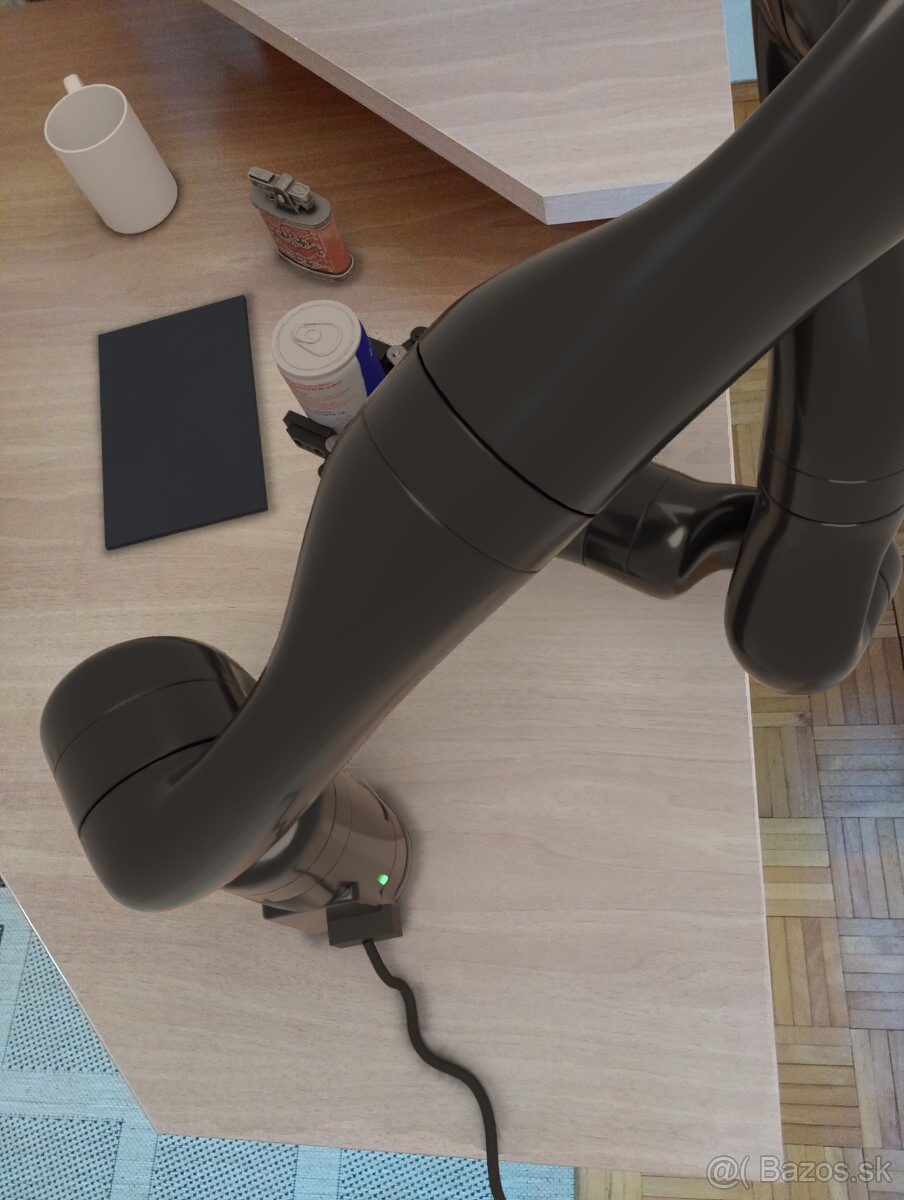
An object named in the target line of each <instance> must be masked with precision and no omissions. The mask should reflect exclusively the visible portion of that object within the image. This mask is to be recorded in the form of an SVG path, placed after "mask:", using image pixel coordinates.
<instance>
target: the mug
mask: <svg viewBox="0 0 904 1200" xmlns="http://www.w3.org/2000/svg"><path fill="white" fill-rule="evenodd" d="M63 85H64V88H65V90H66V92H67V95H65V96H63V97H62V98H61V99H60V100H59V101H58V102H57V103H56V104H55V105H54V106H53V108H52V109H51V110H50V112H48V115H47V117H46V119H45V121H44V128H43V133H44V138H45V141H46V142H47V143H48V145H49V146H50V147H51V149H52V151H53V152H54V153H55V155H56V156H57V158H58V159H59V161H60V162H61V163H62V165H63V166H64V167H65V170H67V172H68V174H69V175H70V176H71V178H72V179H73V180H74V182H75V183H76V184H77V186H78V188H79V189H80V190H81V192H82V193H83V194H84V196H85V197H86V198H87V200H88V201H89V203H90V204H91V205H92V207H93V208H94V210H95V211H96V212H97V214H98V215H99V217H100V218H101V220H102V221H103V223H104V224H105V225H106V226H107V227H108V228H109V229H111V230H112V231H114V232H116V233H119V234H123V235H133V234H134V235H136V234H141V233H144V232H146V231H149V230H151V229H153V228H155V227H156V226H158V225H160V224H161V223H162V222H163V221H164V220H165V219H166V218H167V217H168V216H169V215H170V213H171V212H172V210H173V209H174V208H175V205H176V202H177V201H178V200H177V199H178V191H179V190H178V185H177V181H176V180H175V178H174V176H173V174H172V173H171V171H170V170H169V168H168V166H167V164H166V162H165V161H164V159H163V158H162V156H161V155H160V153H159V151H158V150H157V147H156V146H155V144H154V143H153V141H152V139H151V138H150V136H149V134H148V133H147V130H146V129H145V127H144V125H143V124H142V122H141V121H140V119H139V117H138V116H137V114H136V113H135V111H134V109H133V107H132V106H131V104H130V102H129V101H128V99H127V97H126V96H125V94H124V93H123V91H122V90H120V89H119V88H117V87H115V86H113V85H109V84H106V83H94V84H90V85H89V84H88V85H85V83H84V82H83V81H82V78H80V76H79V75H78V74H76V73H71V74H70V75H68V76H66V77H64V79H63Z"/></svg>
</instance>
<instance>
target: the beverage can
mask: <svg viewBox="0 0 904 1200" xmlns="http://www.w3.org/2000/svg"><path fill="white" fill-rule="evenodd" d="M368 337H369V335H368V333H367V330H366V329H365V327H364V325H363V324H362V322H361V321H360V319H359V318H358V317H357V314H356V313H355V312H354V311H353V310H352V309H351V308H350V307H349V306H347V305H346V304H344V303H342V302H339V301H337V300H333V299H314V300H310V301H306V302H304V303H301V304H298V305H297V306H295V307H293V308H291V309H290V310H288V311H287V313H285V314H284V315H283V316H282V317H281V318H280V319H279V320H278V322H277V323H276V324H275V326H274V329H273V331H272V333H271V337H270V342H269V345H270V346H269V347H270V352H271V356H272V358H273V360H274V362H275V364H276V367H277V369H278V371H279V373H280V374H281V376H282V378H283V379H284V381H285V383H286V384H287V386H288V388H289V389H290V391H291V393H293V396H294V398H295V399H296V400H297V402H298V404H299V405H300V407H301V408H302V410H303V413H304V414H305V415H306V417H307V418H309V419H312V420H313V421H315V422H317V423H319V424H322V425H325V426H327V427H330V428H332V429H334V431H335V433H336V435H340V434H341V432H342V431H343V429H344V427H345V426H346V425H347V423H348V422H349V421H350V419H351V418H352V417H353V415H354V414H355V413H356V412H357V411H358V409H359V408H360V407H361V405H362V404H363V403H364V401H365V400H366V399H367V398H368V397H369V396H370V395H371V393H372V392H373V391H374V390H375V389H376V388H377V386H378V385H379V384H380V383H381V382H382V381H383V379H384V378H385V377H386V374H385V372H384V370H383V368H382V366H381V363H380V361H379V359H378V357H377V355H376V353H375V351H374V348H373V346H372V344H371V342H370V340H369V338H368Z"/></svg>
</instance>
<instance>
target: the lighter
mask: <svg viewBox="0 0 904 1200" xmlns="http://www.w3.org/2000/svg"><path fill="white" fill-rule="evenodd" d="M247 177H248V179H249V182H250V184H251V185H252V188H251V189H250V192H249V199H250V201H251V203H252V205H253V206H254V207H255V209H257V210H258V212H259V214H260V216H261V218H262V219H263V221H264V223H265V225H266V228H267V229H268V231H269V233H270V235H271V237H272V239H273V241H274V242H275V244H276V251H277V253H278V255H279V257H280V260H282V261H283V262H284V263H286V264H287V265H289V266H290V267H292V268H293V269H295V270H297V271H299V272H300V273H303V274H304V275H307V276H310V277H312V278H316V279H319V280H322V281H326V282H331V283H337V284H338V283H339V284H340V283H345V282H347V281H349V280H351V278H352V277H353V276H354V275H355V273H356V270H357V264H356V262H355V259H354V257H353V255H352V254H350V253H349V251H348V249H347V246H346V244H345V242H344V239H343V237H342V235H341V232H340V230H339V228H338V225H337V223H336V221H335V218H334V210H333V208H332V205H331V203H330V202H329V201H328V200H327V199H325V198H324V197H322V196H321V195H319V194H318V193H316V192H314V191H312V190H311V189H310V187H309V186H308V185H306V184H303V183H301V182H299V181H298V180H297V179H296V178H295V177H294V176H293V175H291V174H290V173H287V172H283V173H282V175H279V174H277V173H274V172H272V171H268V170H266V169H263V168H260V167H258V166H252V167H251V168H250V170H248V173H247Z"/></svg>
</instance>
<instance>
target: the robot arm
mask: <svg viewBox="0 0 904 1200" xmlns="http://www.w3.org/2000/svg"><path fill="white" fill-rule="evenodd" d="M749 4H750V16H751V28H752V29H751V30H752V42H753V53H754V62H755V63H754V64H755V71H756V81H757V82H756V83H757V90H758V91H757V92H758V93H757V94H758V102H759V105H758V106H757V107H756V108H755V109H754V110H753V111H752V113H750V115H748V117H747V118H746V119H745V120H744V121H743V122H742V123H741V124H740V125H739V126H738V127H737V128H736V129H735V131H733V132H732V134H731V135H730V136H729V137H727V138H726V139H725V140H724V141H723V142H722V143H721V144H720V145H719V146H718V147H717V148H715V150H713V151H712V152H711V153H710V154H709V155H707V157H706V158H705V159H704V160H702V161H701V162H700V163H699V164H698V165H696V166H695V167H693V168H692V169H691V170H690V171H689V172H687V173H686V174H685V175H683V176H682V177H681V178H679V179H678V180H677V181H676V182H674V183H673V184H672V185H670V186H668V187H667V188H665V189H664V190H662V191H661V192H659V193H658V194H656V195H654V196H653V197H651V198H649V199H648V200H646V201H645V202H643V203H641V204H640V205H638V206H637V207H636V206H635V207H634V208H632V209H630V210H628V211H626V212H624V213H622V214H621V215H618V216H616V217H615V218H613V219H611V220H608V221H607V222H605V223H602V224H600V225H598V226H596V227H594V228H592V229H589V230H586V231H585V232H582V233H580V234H578V235H575V236H573V237H570V238H568V239H566V240H564V241H562V242H559V243H557V244H554V245H553V246H550V247H549V248H546V249H544V250H542V251H539V252H537V253H535V254H533V255H531V256H528V257H526V258H525V259H523V260H520V261H519V262H517V263H514V264H512V265H510V266H508V267H507V268H505V269H503V270H501V271H499V272H498V273H496V274H494V275H493V276H491V277H489V278H487V279H486V280H484V281H483V282H481V283H480V284H478V285H476V286H475V287H473V288H471V289H470V290H468V291H467V292H466V293H464V294H463V295H461V296H460V297H459V298H457V299H456V300H455V301H454V302H453V303H451V305H449V306H448V307H447V308H446V309H445V310H444V311H443V312H442V313H440V315H439V316H438V317H437V318H436V319H435V320H433V322H431V324H430V325H429V326H423V325H419V326H416V327H414V328H412V329H411V331H410V333H409V338H408V339H407V340H406V341H404V342H403V343H401V344H393V345H392V344H389V343H387V342H384V341H381V340H379V339H376V338H373V337H371V336H368V338H369V340H370V342H371V344H372V346H373V348H374V351H375V353H376V355H377V357H378V359H379V361H380V363H381V366H382V368H383V370H384V372H385V374H386V377H385V378H384V379H383V381H382V382H381V383H380V384H379V385H378V386H377V388H376V389H375V390H374V391H373V392H372V393H371V395H370V396H369V397H368V398H367V399H366V400H365V401H364V403H363V404H362V405H361V407H360V408H359V409H358V411H357V412H356V413H355V414H354V415H353V417H352V418H351V419H350V421H349V422H348V423H347V425H346V426H345V427H344V429H343V431H342V432H341V434H340V435H336V433H335V431H334V429H332V428H330V427H327V426H325V425H322V424H319V423H317V422H315V421H313V420H312V419H309V418H308V417H307V416H305V415H302V414H300V413H298V412H296V411H294V410H291V409H289V410H287V412H286V414H285V415H284V417H283V418H282V421H283V423H284V425H285V426H286V429H285V431H286V432H287V434H288V436H289V437H290V439H291V440H292V442H293V443H294V444H295V445H296V447H298V448H299V449H302V450H304V451H306V452H309V453H311V454H313V455H315V456H316V457H317V456H318V457H319V458H321V459H323V460H324V461H323V462H322V463H321V464H320V465H319V467H318V469H317V476H318V477H319V478H320V479H319V482H318V485H317V488H316V491H315V494H314V498H313V502H312V505H311V508H310V512H309V514H308V515H309V516H308V519H307V522H306V525H305V529H304V533H303V537H302V541H301V545H300V549H299V553H298V557H297V562H296V565H295V570H294V574H293V578H292V583H291V587H290V592H289V596H288V600H287V604H286V607H285V611H284V615H283V617H282V618H283V619H282V622H281V625H280V628H279V632H278V634H277V638H276V641H275V643H274V646H273V648H272V650H271V652H270V655H269V657H268V660H267V661H266V664H265V665H264V667H263V670H262V671H261V674H260V675H259V677H258V678H257V680H256V679H255V678H254V677H253V676H252V675H251V674H250V673H249V672H248V671H247V670H246V669H245V668H244V667H242V666H241V665H240V664H239V663H238V662H237V661H236V660H235V659H233V658H232V657H231V656H229V654H227V653H226V652H225V651H223V650H221V649H219V648H217V647H215V646H214V645H211V644H209V643H207V642H204V641H202V640H198V639H194V638H191V637H184V636H178V635H177V636H175V635H153V636H143V637H138V638H133V639H129V640H125V641H121V642H118V643H115V644H112V645H110V646H107V647H105V648H103V649H101V650H99V651H97V652H95V653H94V654H92V655H90V656H88V657H86V658H85V659H84V660H82V661H81V662H80V663H78V664H77V665H75V666H74V667H73V668H72V669H71V670H70V671H69V672H67V673H66V674H65V675H64V676H63V677H62V678H61V679H60V680H59V681H58V683H57V684H56V685H55V687H54V688H53V690H52V691H51V692H50V694H49V696H48V697H47V700H46V702H45V704H44V707H43V709H42V713H41V716H40V722H39V739H40V740H39V741H40V745H41V749H42V750H43V755H44V757H45V760H46V762H47V765H48V767H49V769H50V772H51V775H52V777H53V779H54V781H55V784H56V787H57V789H58V792H59V795H60V796H61V799H62V802H63V804H64V807H65V808H66V811H67V814H68V816H69V818H70V821H71V824H72V826H73V828H74V830H75V834H76V836H77V839H78V840H79V843H80V845H81V847H82V849H83V851H84V854H85V857H86V859H87V861H88V863H89V865H90V867H91V869H92V872H94V874H95V876H96V878H97V879H98V880H99V882H100V884H101V885H102V887H103V888H104V889H105V890H106V892H107V893H108V895H109V896H110V897H111V898H113V900H115V902H117V903H118V904H120V905H122V906H124V907H126V908H128V909H129V910H132V911H136V912H141V913H152V914H153V913H164V912H170V911H173V910H176V909H180V908H184V907H187V906H190V905H191V904H193V903H196V902H199V901H200V900H203V899H204V898H207V897H209V896H210V895H211V894H213V893H215V892H216V891H218V890H219V891H222V892H224V893H228V894H231V895H233V896H237V897H240V898H242V899H246V900H249V901H252V902H255V903H258V904H260V905H261V914H262V918H263V919H264V920H265V921H267V922H270V923H273V924H277V925H281V926H285V927H287V928H291V929H294V930H297V931H300V932H304V933H308V934H310V935H318V934H324V933H327V935H328V944H329V946H330V947H334V948H337V949H345V948H351V947H357V946H361V945H362V947H363V948H364V950H365V953H366V955H367V958H368V959H369V961H370V964H371V966H372V968H373V969H374V971H375V973H376V975H377V976H378V977H379V978H380V980H381V981H382V982H383V983H384V984H385V985H386V986H387V987H388V988H390V989H393V990H396V991H398V992H399V994H400V995H401V997H402V1000H403V1003H404V1008H405V1014H406V1015H405V1016H406V1017H405V1018H406V1026H407V1032H408V1036H409V1040H410V1043H411V1046H412V1047H413V1049H414V1051H415V1052H416V1054H417V1055H418V1056H419V1058H420V1059H421V1060H422V1061H424V1063H426V1064H427V1065H428V1066H430V1067H431V1068H433V1069H435V1070H436V1071H439V1072H441V1073H444V1074H446V1075H449V1076H451V1077H453V1078H455V1079H457V1080H459V1081H461V1082H462V1083H463V1084H465V1085H466V1086H467V1088H469V1090H470V1091H471V1092H472V1094H473V1096H474V1098H475V1099H476V1103H477V1104H478V1107H479V1110H480V1113H481V1117H482V1121H483V1127H484V1135H485V1136H484V1137H485V1153H486V1167H487V1176H488V1183H489V1188H490V1192H491V1195H492V1199H493V1200H507V1198H506V1195H505V1192H504V1189H503V1184H502V1181H501V1179H502V1178H501V1172H500V1161H499V1144H498V1133H497V1124H496V1119H495V1113H494V1110H493V1106H492V1103H491V1101H490V1098H489V1096H488V1094H487V1091H486V1090H485V1088H484V1086H483V1085H482V1083H481V1082H480V1080H478V1079H479V1078H477V1077H476V1076H475V1075H474V1074H473V1073H472V1072H470V1071H469V1070H468V1069H466V1068H464V1067H463V1066H460V1065H458V1064H456V1063H454V1062H451V1061H449V1060H447V1059H445V1058H441V1057H440V1056H438V1055H436V1054H435V1053H434V1052H432V1051H431V1050H430V1049H429V1048H428V1046H427V1045H426V1044H425V1042H424V1040H423V1038H422V1036H421V1031H420V1028H419V1019H418V1009H417V1003H416V999H415V996H414V993H413V991H412V989H411V986H410V985H409V984H408V983H407V982H406V981H405V980H404V979H402V978H400V977H397V976H394V975H393V974H392V973H391V972H390V971H389V969H388V968H387V966H386V964H385V963H384V960H383V959H382V956H381V955H380V952H379V950H378V947H377V946H376V944H375V943H376V942H381V941H385V940H391V939H397V938H401V937H403V936H404V934H403V933H404V932H403V926H402V918H401V912H400V907H399V906H397V905H398V902H397V901H398V899H399V898H400V896H401V895H402V893H403V891H404V889H405V887H406V885H407V882H408V879H409V876H410V873H411V868H412V867H411V866H412V858H413V857H412V856H413V855H412V844H411V843H412V842H411V838H410V836H409V832H408V830H407V827H406V825H405V823H404V820H402V818H401V817H400V815H399V814H398V812H397V811H396V810H395V809H394V808H393V807H392V806H391V805H389V803H388V802H386V801H385V800H383V799H382V798H381V797H380V796H379V795H378V794H377V793H376V792H375V791H374V789H373V788H372V787H371V786H370V784H368V783H367V782H366V781H365V780H364V779H363V778H361V781H363V782H364V784H365V785H366V786H367V787H368V788H369V789H370V790H368V789H367V788H366V787H364V786H363V785H362V784H360V783H359V782H358V781H357V780H356V779H355V778H353V777H352V776H350V774H348V773H347V772H345V771H344V770H343V769H344V767H345V766H346V765H347V764H348V763H349V761H350V760H352V758H353V757H354V756H355V755H356V754H357V752H358V751H359V750H360V749H361V748H362V747H363V745H364V744H365V743H366V742H367V740H369V738H370V737H371V736H372V735H373V734H374V732H375V731H376V730H377V729H378V728H379V726H381V724H382V723H383V722H384V721H385V720H386V719H387V717H388V716H390V714H391V713H392V712H393V711H394V710H395V709H396V708H397V707H398V706H399V705H400V704H401V703H402V702H403V700H404V699H405V698H407V696H408V695H409V694H410V693H411V692H412V691H413V690H415V688H416V687H417V686H418V685H419V684H420V683H421V682H422V681H423V680H424V679H425V678H426V677H427V676H428V675H429V674H430V673H431V672H432V671H433V670H434V669H436V667H437V666H439V664H440V663H442V662H443V660H445V659H446V658H447V657H448V656H449V655H450V654H451V653H452V652H453V651H454V650H456V648H457V647H458V646H459V645H460V644H461V643H462V642H463V641H464V640H465V639H467V637H468V636H469V635H470V634H471V633H473V632H474V631H475V630H476V629H477V628H478V627H479V626H481V624H483V623H484V622H485V621H486V620H487V619H489V617H491V616H492V615H493V614H494V613H495V612H497V610H498V609H499V608H501V607H502V606H503V605H504V604H505V603H506V602H507V601H508V600H509V599H510V598H512V597H513V596H514V595H515V594H517V592H518V591H520V590H521V589H522V588H523V587H524V586H525V585H526V584H528V583H529V582H530V581H531V580H532V579H533V578H534V577H535V576H537V575H538V574H539V573H540V572H541V571H542V569H544V568H545V567H546V566H548V564H549V563H550V562H551V561H552V560H553V559H555V558H556V559H559V560H563V561H566V562H569V563H573V564H576V565H579V566H581V567H584V568H587V569H589V570H591V571H594V572H595V573H597V574H600V575H602V576H603V577H606V578H608V579H611V580H613V581H615V582H618V583H620V584H621V585H624V586H626V587H628V588H631V589H633V590H635V591H637V592H640V593H642V594H644V595H647V596H649V597H651V598H654V599H658V600H662V601H673V600H676V599H679V598H681V597H683V596H685V595H686V594H688V592H690V591H691V590H692V589H694V588H695V587H696V586H698V584H700V583H701V582H702V581H703V580H704V579H707V578H708V577H709V576H711V575H713V574H716V573H719V572H732V573H731V577H730V581H729V585H728V588H727V593H726V595H725V596H726V597H725V602H724V610H723V626H724V627H723V628H724V633H725V637H726V640H727V644H728V647H729V650H730V651H731V653H732V655H733V657H734V659H735V660H736V662H737V663H738V665H739V666H740V667H741V668H742V670H743V671H744V672H745V673H746V675H748V676H749V677H750V678H752V680H753V681H755V682H756V683H758V684H760V685H761V686H763V687H764V688H766V689H769V690H770V691H773V692H775V693H779V694H783V695H789V696H812V695H817V694H821V693H824V692H826V691H828V690H831V689H832V688H835V687H836V686H838V685H840V684H841V683H843V682H844V681H845V680H846V679H847V678H848V677H849V676H850V675H851V674H852V673H853V672H854V670H855V669H856V667H858V665H859V663H860V661H861V659H862V657H863V655H864V654H865V652H866V651H867V648H868V645H869V644H870V642H871V640H872V638H873V636H874V634H875V632H876V630H877V629H878V626H879V624H880V623H881V620H882V618H883V617H884V615H885V612H886V611H887V609H888V607H889V605H890V603H891V601H892V599H893V597H894V595H895V593H896V592H897V589H898V587H899V585H900V583H901V579H902V576H903V568H904V567H903V566H904V565H903V556H902V553H901V550H900V547H899V546H898V544H897V542H896V540H895V539H894V538H895V536H896V535H897V532H898V531H899V529H900V527H901V525H902V523H903V521H904V0H749ZM766 354H768V356H767V357H768V358H767V370H766V381H765V393H764V402H763V410H762V411H763V412H762V418H761V419H762V420H761V430H760V440H759V449H758V459H757V467H756V468H757V469H756V486H753V485H746V484H738V483H727V482H716V481H708V480H703V479H699V478H696V477H694V476H691V475H689V474H688V473H685V472H683V471H680V470H679V469H675V468H673V467H670V466H668V465H665V464H664V463H660V462H658V461H655V460H654V458H656V457H657V455H658V454H659V453H661V452H662V451H663V450H664V449H665V448H666V447H667V446H668V445H669V444H670V442H672V441H673V440H675V438H677V436H678V435H679V434H681V432H683V431H684V430H685V429H686V428H687V427H688V426H689V425H690V424H692V422H693V421H694V420H696V418H698V417H699V416H700V415H702V413H703V412H704V411H705V410H707V408H709V407H710V406H711V405H712V404H713V403H714V402H715V401H716V400H717V399H718V398H720V397H721V396H722V395H723V394H724V393H725V392H726V391H727V390H728V389H729V388H730V387H732V386H733V384H735V383H736V382H737V381H739V379H740V378H741V377H742V376H744V374H746V373H747V372H748V371H749V370H750V369H751V368H752V367H754V365H756V364H757V363H758V362H759V361H760V360H761V359H762V358H763V357H764V356H765V355H766ZM373 793H374V794H373Z"/></svg>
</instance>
